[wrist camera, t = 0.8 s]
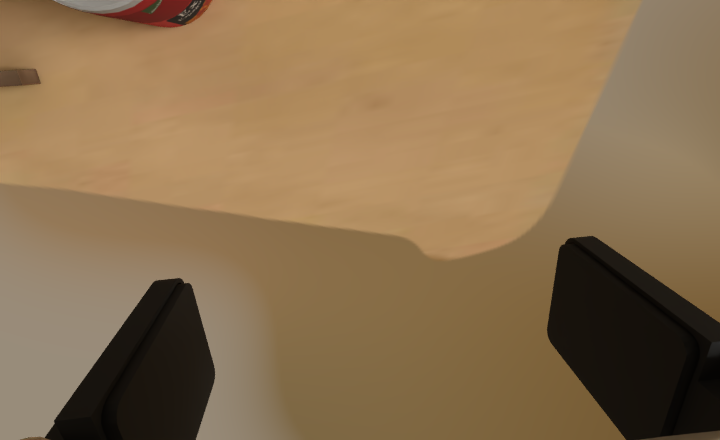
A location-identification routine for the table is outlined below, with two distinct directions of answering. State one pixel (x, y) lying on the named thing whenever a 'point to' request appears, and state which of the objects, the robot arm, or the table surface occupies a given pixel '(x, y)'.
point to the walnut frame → (19, 77)
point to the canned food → (144, 10)
